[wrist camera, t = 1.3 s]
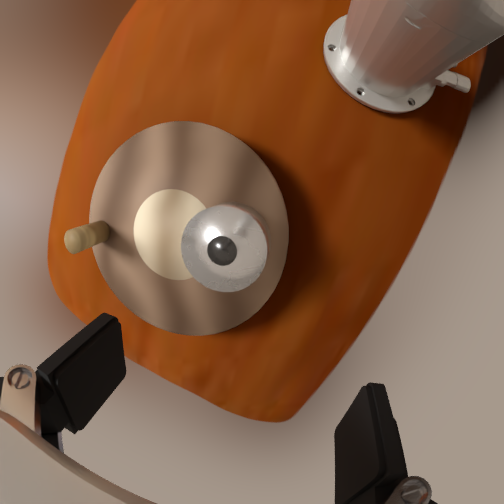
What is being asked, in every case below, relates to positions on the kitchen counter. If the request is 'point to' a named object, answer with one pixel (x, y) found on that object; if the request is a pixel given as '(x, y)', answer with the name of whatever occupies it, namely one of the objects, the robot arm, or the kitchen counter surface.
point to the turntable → (178, 224)
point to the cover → (226, 246)
